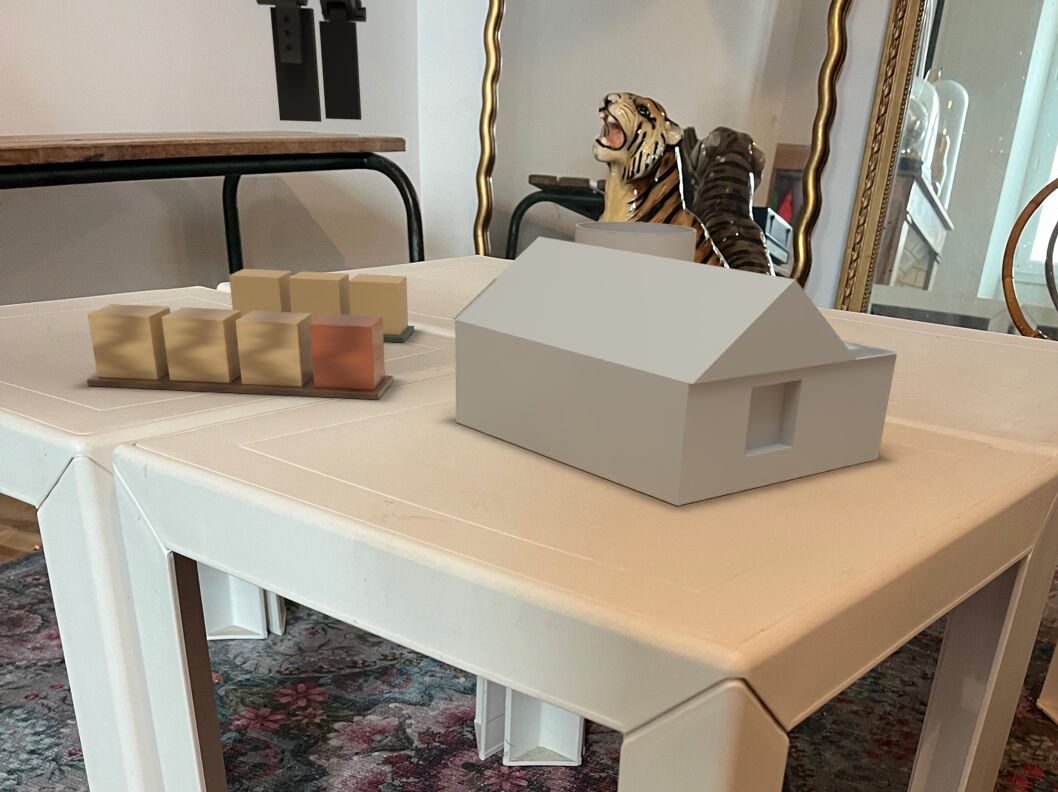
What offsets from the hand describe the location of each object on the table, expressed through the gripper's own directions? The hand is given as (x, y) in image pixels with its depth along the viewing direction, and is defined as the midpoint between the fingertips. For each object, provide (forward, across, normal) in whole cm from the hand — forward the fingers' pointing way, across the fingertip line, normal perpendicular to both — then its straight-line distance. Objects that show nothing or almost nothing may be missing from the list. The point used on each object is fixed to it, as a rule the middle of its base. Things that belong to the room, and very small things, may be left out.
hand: (323, 120), depth 83 cm
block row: (+20, +27, +11) cm, 35 cm away
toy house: (+20, -10, -26) cm, 35 cm away
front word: (+20, +2, +9) cm, 22 cm away
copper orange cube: (+19, +2, 0) cm, 19 cm away
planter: (+20, +36, -24) cm, 48 cm away
